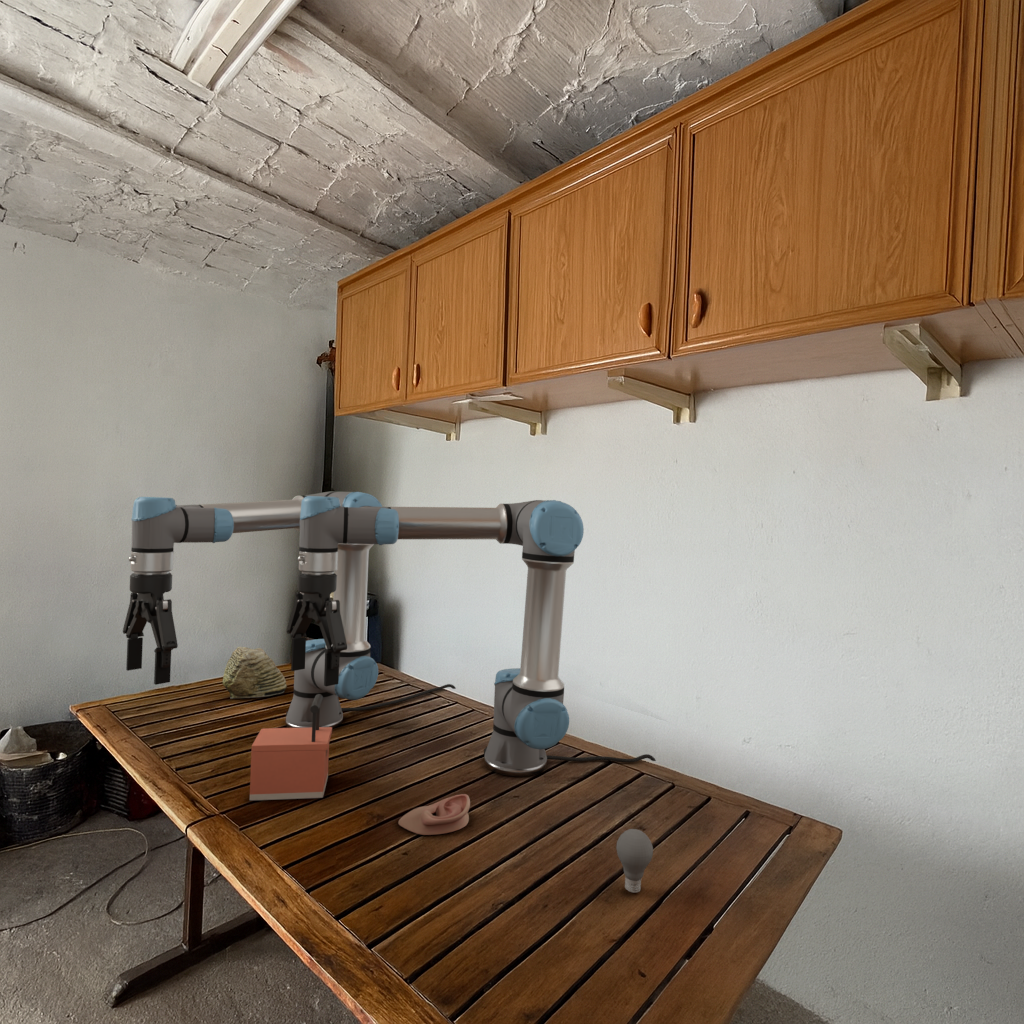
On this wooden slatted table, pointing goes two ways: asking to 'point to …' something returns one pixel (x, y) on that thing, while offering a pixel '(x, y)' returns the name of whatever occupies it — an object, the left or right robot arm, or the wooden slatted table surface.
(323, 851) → the wooden slatted table surface
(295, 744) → the lid
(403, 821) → the anatomical model
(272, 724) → the wooden slatted table surface
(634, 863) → the light bulb
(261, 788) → the chest
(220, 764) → the wooden slatted table surface
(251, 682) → the fossil
